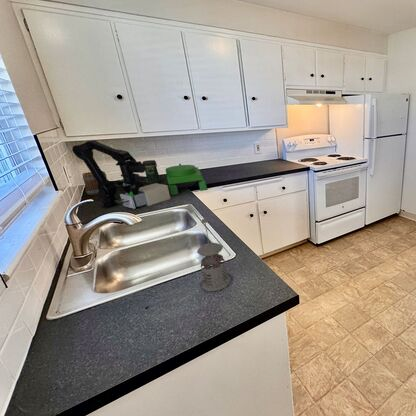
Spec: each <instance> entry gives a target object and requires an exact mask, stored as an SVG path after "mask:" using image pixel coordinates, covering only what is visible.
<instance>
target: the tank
mask: <svg viewBox="0 0 416 416" xmlns="http://www.w3.org/2000/svg"><path fill="white" fill-rule="evenodd" d="M164 171H165V174H166V179H167V183H168V189H169V193H170V196H176V195H179V194H180V193H179V189H178V184H182V183H188V182H189V183H190V182H196V183H197V185H198V187H199V190H200V191H201V192H203V191H208V187H207V184H206V180H205V178H204V177H203V174H202V173H201V171H200V168H199V167H197V166H195V165H193V164H182V163H178V165H173V166H169V167H166V168H165V170H164Z"/></svg>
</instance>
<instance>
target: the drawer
mask: <svg viewBox="0 0 416 416" xmlns="http://www.w3.org/2000/svg"><path fill="white" fill-rule="evenodd" d="M119 196H120V199H117V200H115V202H116V203H117V204H120V205H122V206H123V207H126V208H128V209H129V208H130V209H133V210H135V209H136V208H138V207H142V206H146V205H145V204H148V203H147V199H146V195H145V192H140V191H138V194H137V195H134V199H133V197H132V196H129V194H128V193H127V192H125V193H124V194H123V193H120V194H119Z"/></svg>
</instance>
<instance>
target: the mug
mask: <svg viewBox="0 0 416 416" xmlns="http://www.w3.org/2000/svg"><path fill="white" fill-rule="evenodd" d="M101 171H102V172H103V174H104V175H105V177H106V178H107V174H106V172H105V171H104V170H101ZM82 180H83V183H84V187H85V192H86V194H87V195H89V196H97V194H98V192H99V189H98V182H97V181H96V179H95V178H94V176H93V174H92V173H91V171H88V172H83V173H82Z"/></svg>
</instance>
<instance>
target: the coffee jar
mask: <svg viewBox="0 0 416 416" xmlns="http://www.w3.org/2000/svg"><path fill="white" fill-rule="evenodd" d="M141 163H142V164H144V166H145V172H144V174H145V179H146V182H147V185H151V184H155V183H157V184H160V183H161V182H162V179H161V176H160V174H159V172H158V168H157V167H158V164H157V161H156V160H155V159H150V160H149V159H148V160H143V161H141Z"/></svg>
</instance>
